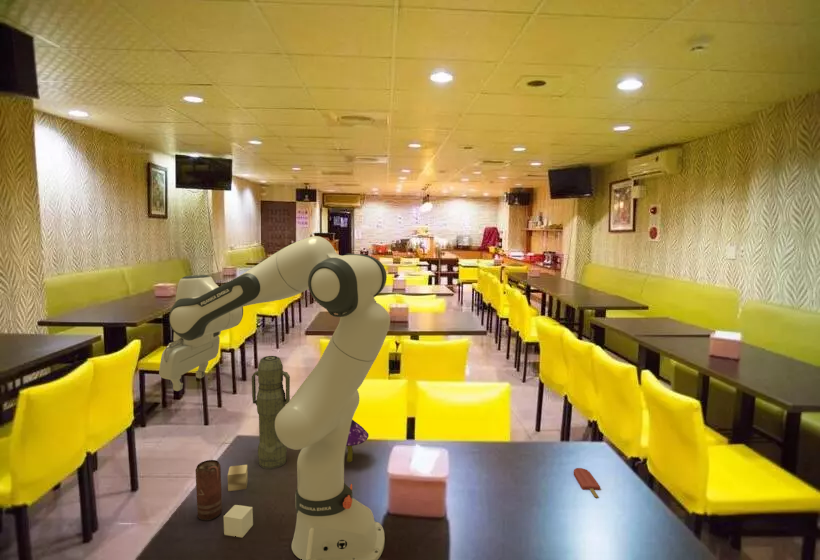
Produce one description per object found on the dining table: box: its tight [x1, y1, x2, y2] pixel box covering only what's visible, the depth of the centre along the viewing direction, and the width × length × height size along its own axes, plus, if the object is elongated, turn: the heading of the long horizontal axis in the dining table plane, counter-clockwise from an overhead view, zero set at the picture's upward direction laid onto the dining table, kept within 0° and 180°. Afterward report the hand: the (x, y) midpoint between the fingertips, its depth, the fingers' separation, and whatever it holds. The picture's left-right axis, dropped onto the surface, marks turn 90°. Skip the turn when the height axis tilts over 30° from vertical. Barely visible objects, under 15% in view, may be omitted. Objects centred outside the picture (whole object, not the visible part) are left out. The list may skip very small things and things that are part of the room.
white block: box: [223, 504, 254, 539], centre depth 118 cm, size 5×5×5 cm
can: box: [195, 459, 223, 522], centre depth 124 cm, size 6×6×14 cm
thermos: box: [251, 355, 291, 470], centre depth 150 cm, size 9×12×35 cm
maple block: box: [227, 464, 249, 492], centre depth 138 cm, size 5×5×5 cm
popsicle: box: [573, 467, 601, 498], centre depth 141 cm, size 5×2×15 cm
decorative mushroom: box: [346, 418, 370, 463], centre depth 152 cm, size 12×12×15 cm
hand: (189, 383), depth 125 cm, fingers open, 8 cm apart
